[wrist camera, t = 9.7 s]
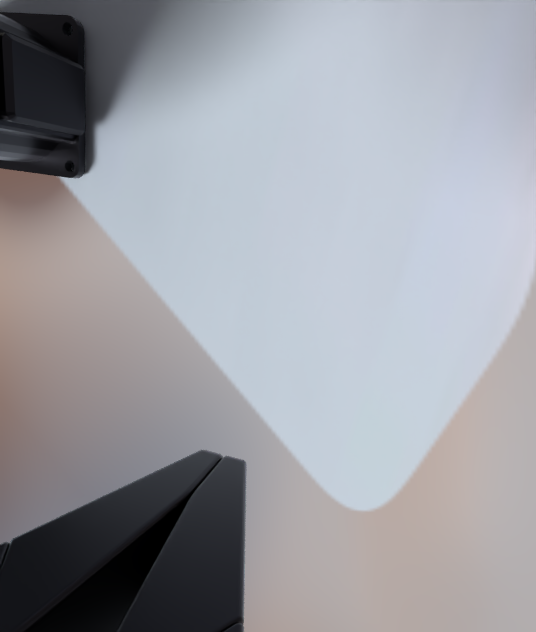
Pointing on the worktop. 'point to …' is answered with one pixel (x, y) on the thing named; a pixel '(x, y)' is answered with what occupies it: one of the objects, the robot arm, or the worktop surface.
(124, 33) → the worktop surface
